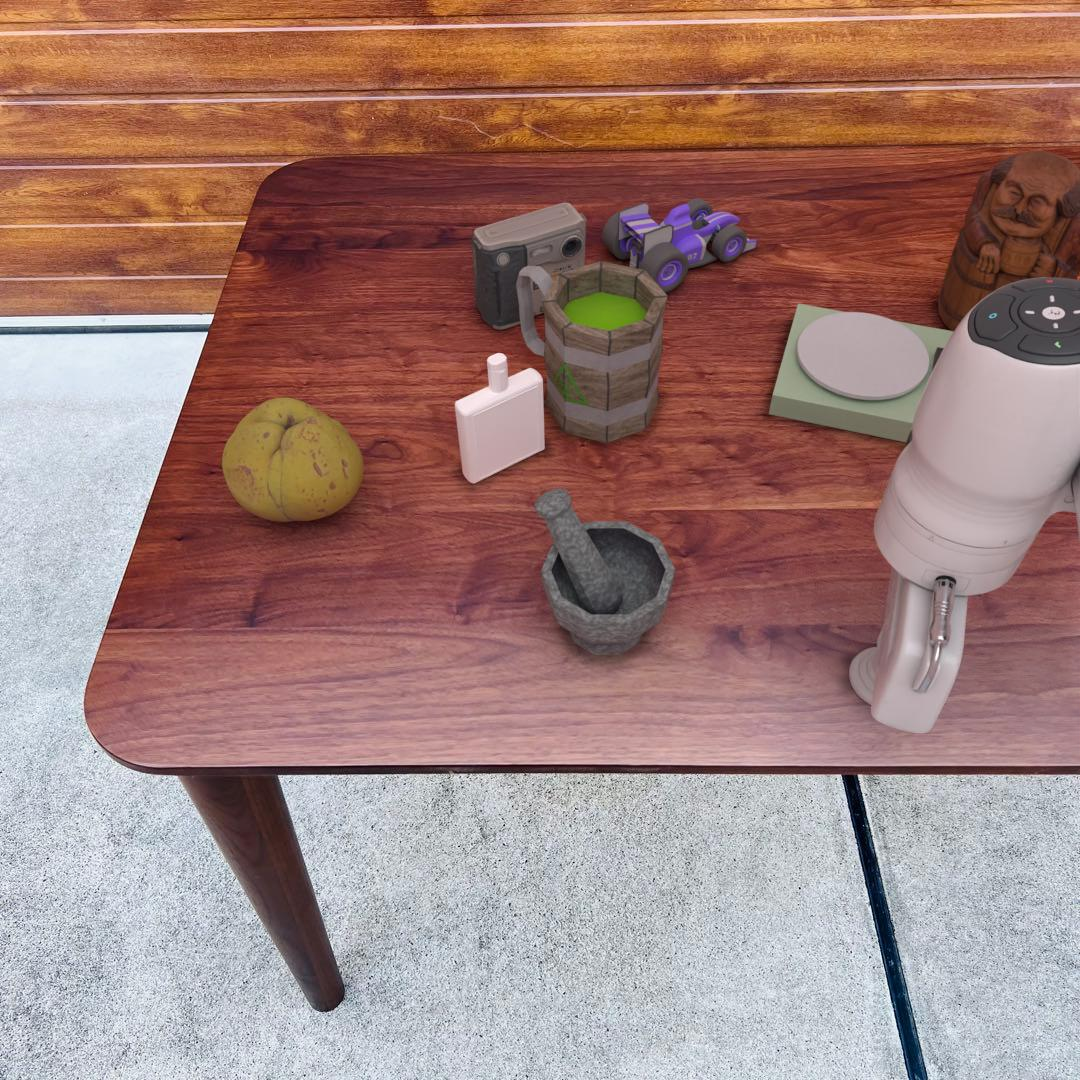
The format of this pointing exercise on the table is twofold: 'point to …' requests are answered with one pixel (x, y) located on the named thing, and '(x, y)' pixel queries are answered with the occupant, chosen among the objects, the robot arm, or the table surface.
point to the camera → (523, 258)
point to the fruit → (291, 462)
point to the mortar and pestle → (602, 577)
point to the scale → (855, 371)
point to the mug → (597, 346)
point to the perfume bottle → (500, 421)
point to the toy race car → (674, 240)
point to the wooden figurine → (1014, 231)
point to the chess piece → (865, 671)
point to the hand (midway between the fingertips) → (893, 646)
